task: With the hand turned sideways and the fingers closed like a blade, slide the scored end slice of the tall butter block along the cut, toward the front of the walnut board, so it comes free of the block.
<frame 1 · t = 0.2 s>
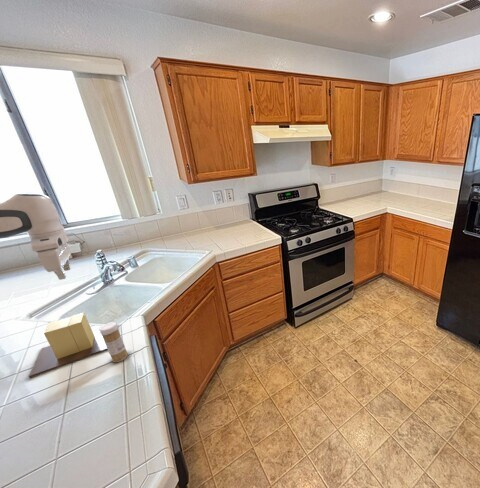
hand: (65, 274, 97), 26 cm above the countertop, tool pointing down, fingers open, 8 cm apart
walnut board: (78, 348, 96), on the countertop
butter slice: (87, 343, 97), point 1 cm above the countertop, touching walnut board
butter block: (70, 349, 95), resting on walnut board
sprinkles bottle: (120, 358, 91), on the countertop
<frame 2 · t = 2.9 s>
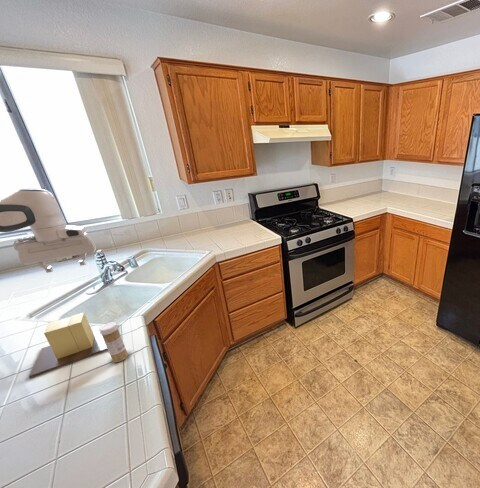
hand: (67, 268, 99), 27 cm above the countertop, tool pointing down, fingers open, 8 cm apart
nothing on the countertop moved.
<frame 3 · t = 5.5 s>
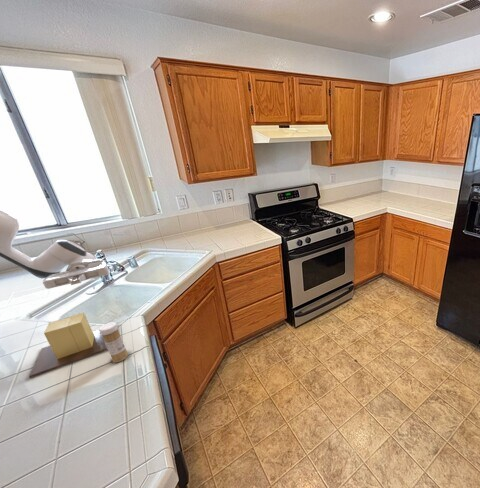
hand: (75, 282, 103), 20 cm above the countertop, tool horizontal, fingers closed
nothing on the countertop moved.
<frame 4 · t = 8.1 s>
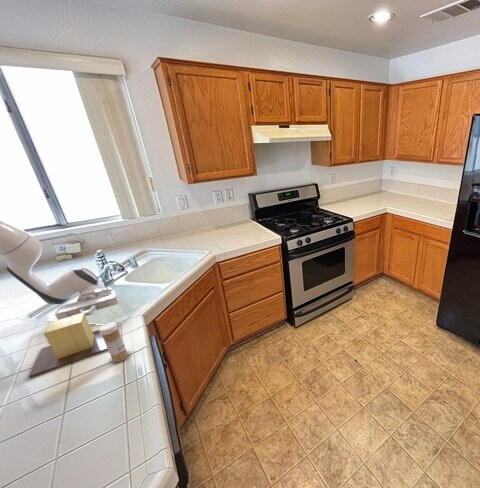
hand: (86, 314, 106), 6 cm above the countertop, tool horizontal, fingers closed
nothing on the countertop moved.
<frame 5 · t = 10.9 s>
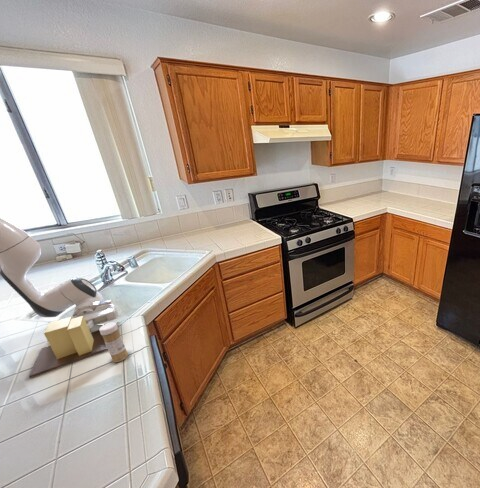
hand: (83, 331, 97), 6 cm above the countertop, tool horizontal, fingers closed, pressing on butter slice
butter slice: (86, 347, 95), point 1 cm above the countertop, touching gripper, walnut board
everything else where it was.
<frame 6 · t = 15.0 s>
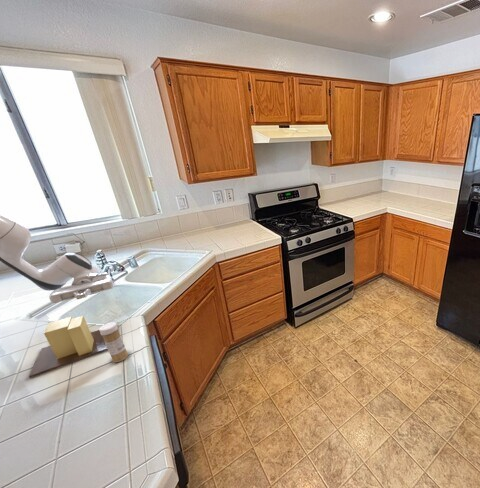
hand: (80, 296, 105), 13 cm above the countertop, tool horizontal, fingers closed
butter slice: (86, 347, 95), point 1 cm above the countertop, touching walnut board
everything else where it was.
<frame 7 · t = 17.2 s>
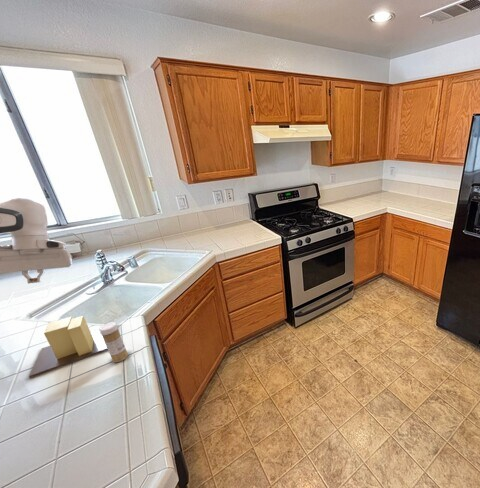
hand: (34, 282, 94), 25 cm above the countertop, tool tilted 20°, fingers closed
nothing on the countertop moved.
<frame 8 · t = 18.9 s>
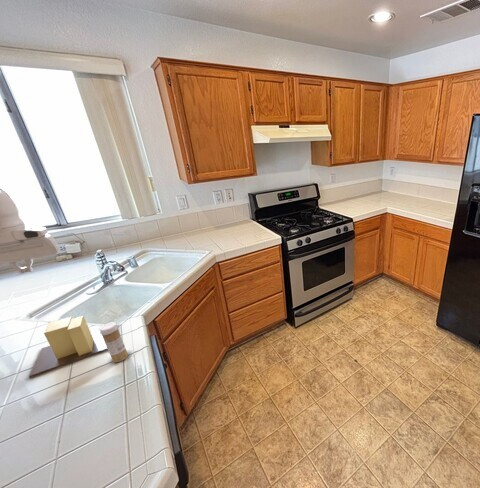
hand: (26, 272, 92), 29 cm above the countertop, tool pointing down, fingers closed
nothing on the countertop moved.
at the end: butter slice moved 2.8 cm from its start; butter slice 1.2 cm from the target spot, point 0.8 cm above the countertop; butter slice tilted 0° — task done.
